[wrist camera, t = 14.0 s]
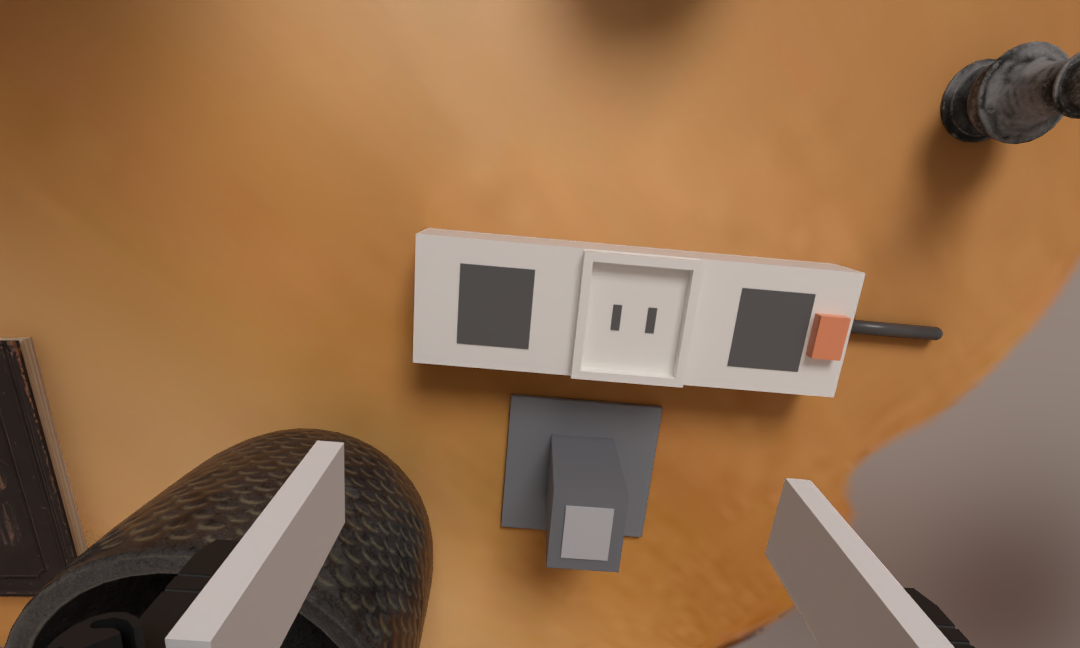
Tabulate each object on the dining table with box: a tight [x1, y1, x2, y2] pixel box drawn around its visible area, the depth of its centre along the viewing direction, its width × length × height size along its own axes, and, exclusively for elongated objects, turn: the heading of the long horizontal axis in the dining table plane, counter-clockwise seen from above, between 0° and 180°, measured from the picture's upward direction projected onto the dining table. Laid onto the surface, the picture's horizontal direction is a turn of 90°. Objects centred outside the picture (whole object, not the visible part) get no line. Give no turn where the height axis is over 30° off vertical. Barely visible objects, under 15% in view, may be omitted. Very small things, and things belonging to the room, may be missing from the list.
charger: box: [546, 434, 629, 572], centre depth 39 cm, size 5×6×8 cm
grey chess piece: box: [941, 41, 1080, 144], centre depth 30 cm, size 6×6×12 cm
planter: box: [4, 428, 433, 648], centre depth 35 cm, size 20×20×19 cm
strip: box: [413, 228, 943, 397], centre depth 38 cm, size 39×9×5 cm, turn 85°
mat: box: [501, 394, 662, 537], centre depth 44 cm, size 12×12×1 cm
